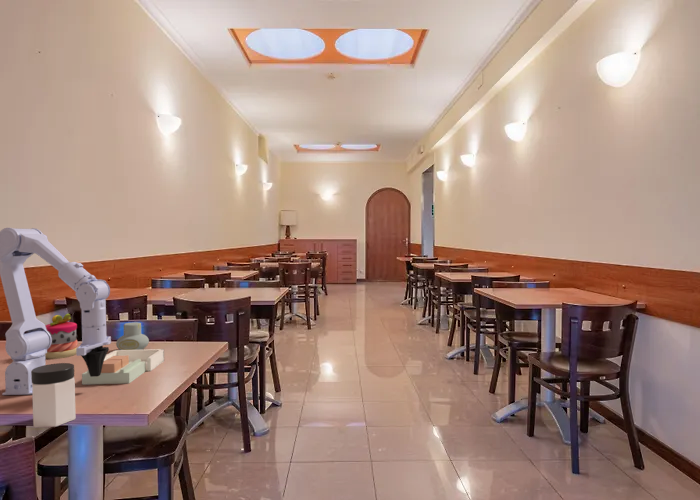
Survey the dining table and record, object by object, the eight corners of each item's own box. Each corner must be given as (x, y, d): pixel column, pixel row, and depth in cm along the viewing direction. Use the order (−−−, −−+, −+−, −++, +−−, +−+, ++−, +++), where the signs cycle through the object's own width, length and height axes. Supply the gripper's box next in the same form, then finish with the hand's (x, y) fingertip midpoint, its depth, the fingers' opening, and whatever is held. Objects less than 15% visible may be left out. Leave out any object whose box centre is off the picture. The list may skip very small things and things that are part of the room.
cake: (35, 358, 160) (34, 315, 160) (61, 351, 170) (60, 310, 170) (60, 359, 158) (59, 316, 157) (84, 352, 168) (84, 311, 168)
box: (150, 371, 143) (150, 358, 143) (97, 372, 142) (97, 359, 142) (164, 360, 155) (164, 349, 155) (115, 362, 154) (115, 350, 154)
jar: (84, 412, 108) (82, 362, 108) (66, 426, 100) (64, 371, 100) (43, 414, 108) (42, 363, 107) (22, 428, 99) (20, 373, 99)
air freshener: (113, 353, 165) (112, 326, 165) (121, 348, 174) (120, 322, 173) (144, 352, 167) (144, 325, 167) (151, 347, 175) (151, 321, 175)
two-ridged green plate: (129, 383, 131) (129, 369, 131) (82, 384, 130) (81, 370, 130) (145, 371, 143) (145, 358, 142) (102, 372, 142) (102, 359, 142)
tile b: (122, 367, 136) (122, 359, 136) (106, 368, 136) (106, 359, 136) (128, 363, 140) (128, 355, 140) (113, 364, 140) (113, 355, 140)
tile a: (114, 372, 131) (114, 363, 131) (98, 373, 131) (98, 364, 131) (121, 368, 135) (121, 359, 135) (105, 368, 135) (105, 360, 135)
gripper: (96, 330, 117) (97, 383, 117) (121, 320, 132) (122, 367, 132) (67, 331, 117) (68, 384, 117) (95, 321, 131) (97, 368, 132)
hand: (95, 375), depth 124 cm, fingers closed
